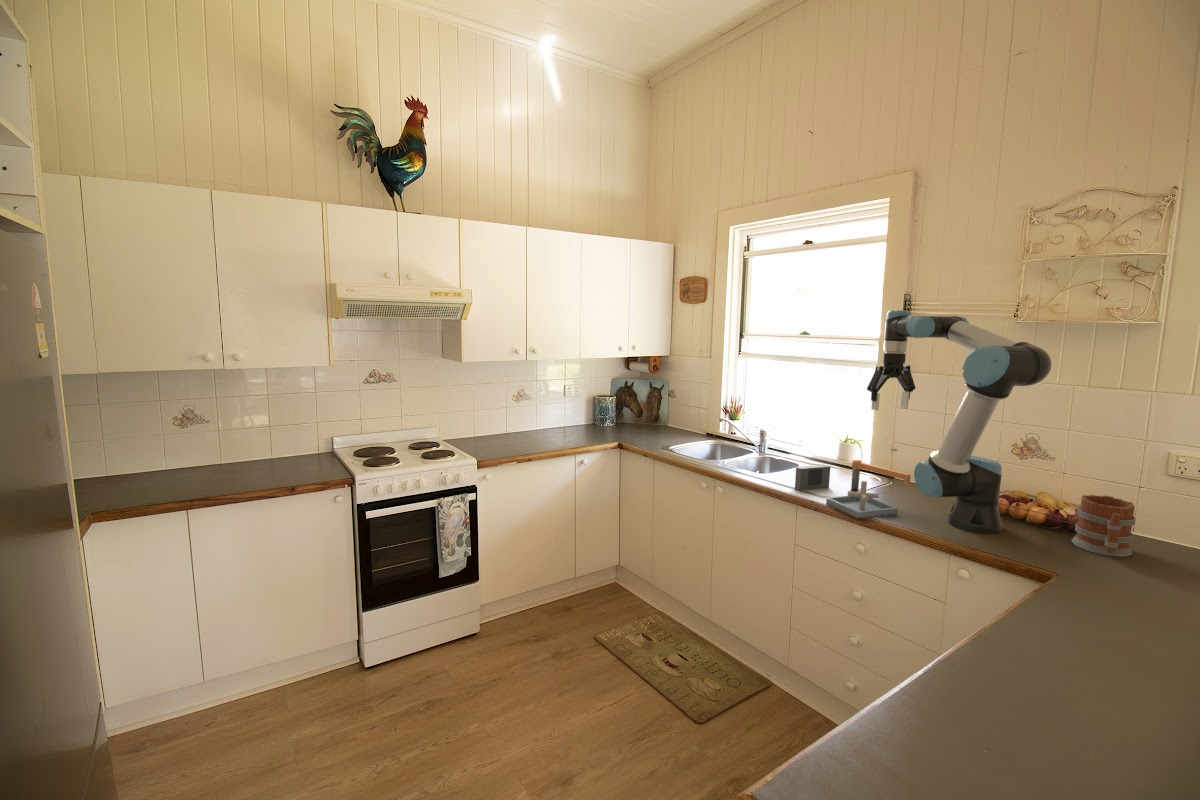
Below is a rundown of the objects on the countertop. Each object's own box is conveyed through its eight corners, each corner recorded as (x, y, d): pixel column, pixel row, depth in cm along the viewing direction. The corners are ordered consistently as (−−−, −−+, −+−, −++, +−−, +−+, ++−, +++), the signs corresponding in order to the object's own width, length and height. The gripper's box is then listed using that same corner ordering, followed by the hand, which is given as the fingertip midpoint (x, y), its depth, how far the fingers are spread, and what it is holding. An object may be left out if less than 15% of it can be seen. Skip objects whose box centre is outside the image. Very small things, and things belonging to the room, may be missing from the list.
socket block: (829, 488, 232) (830, 466, 231) (799, 490, 228) (800, 468, 227) (824, 485, 235) (825, 464, 234) (794, 488, 231) (796, 466, 230)
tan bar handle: (855, 469, 225) (855, 459, 225) (910, 483, 206) (911, 472, 206) (849, 470, 224) (850, 460, 223) (905, 485, 205) (906, 473, 204)
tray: (897, 515, 201) (897, 508, 201) (858, 519, 196) (858, 512, 196) (862, 500, 217) (863, 494, 216) (826, 504, 212) (826, 497, 211)
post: (862, 495, 223) (864, 470, 222) (853, 495, 222) (855, 470, 221) (854, 492, 227) (856, 467, 226) (846, 492, 226) (848, 468, 225)
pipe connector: (880, 514, 200) (882, 486, 198) (849, 511, 202) (852, 484, 201) (873, 505, 209) (875, 478, 208) (844, 502, 212) (846, 476, 210)
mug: (1125, 545, 176) (1132, 498, 174) (1143, 568, 160) (1151, 516, 157) (1067, 536, 183) (1073, 490, 181) (1078, 557, 167) (1085, 507, 165)
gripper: (913, 351, 219) (908, 406, 222) (859, 352, 211) (855, 408, 214) (929, 352, 211) (924, 409, 214) (874, 353, 204) (869, 412, 207)
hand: (889, 409), depth 214 cm, fingers open, 13 cm apart
